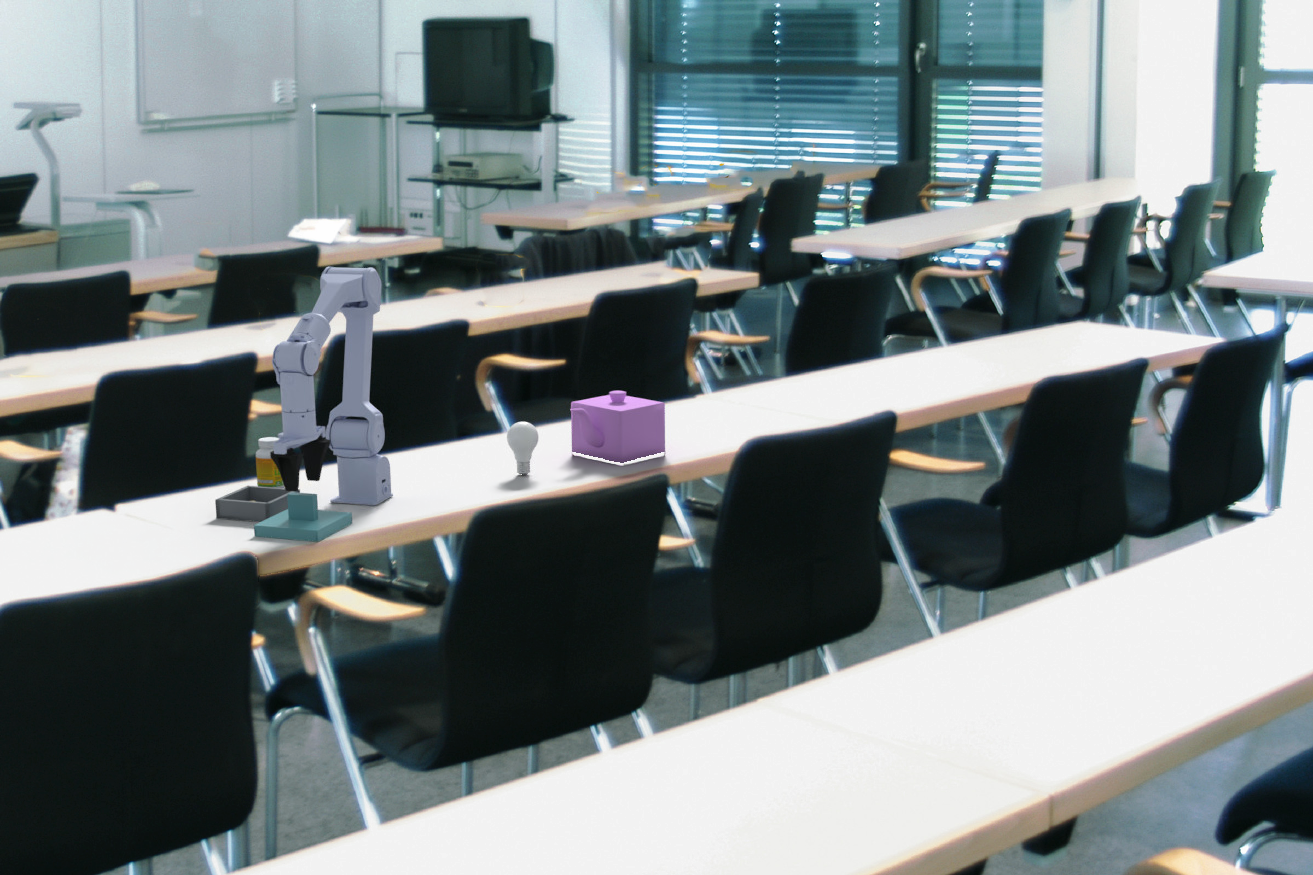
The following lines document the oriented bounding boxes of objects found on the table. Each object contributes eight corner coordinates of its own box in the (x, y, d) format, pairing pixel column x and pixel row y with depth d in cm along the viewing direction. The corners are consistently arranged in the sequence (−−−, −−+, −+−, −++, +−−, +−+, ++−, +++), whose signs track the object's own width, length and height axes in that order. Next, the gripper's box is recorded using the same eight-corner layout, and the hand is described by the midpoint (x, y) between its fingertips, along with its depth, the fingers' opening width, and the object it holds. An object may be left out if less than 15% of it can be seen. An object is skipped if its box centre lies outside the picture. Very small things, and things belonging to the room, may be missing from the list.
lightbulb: (502, 477, 315) (500, 423, 312) (516, 470, 320) (515, 417, 318) (530, 479, 312) (529, 426, 310) (544, 472, 318) (543, 419, 316)
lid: (352, 523, 281) (350, 488, 279) (318, 541, 269) (316, 505, 268) (290, 518, 284) (289, 483, 283) (254, 536, 273) (252, 500, 271)
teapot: (546, 461, 329) (545, 395, 326) (631, 442, 346) (630, 380, 343) (596, 472, 318) (595, 405, 315) (680, 452, 336) (680, 388, 333)
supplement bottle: (278, 491, 304) (275, 442, 302) (252, 490, 305) (249, 441, 303) (290, 484, 309) (287, 436, 307) (264, 483, 311) (262, 435, 308)
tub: (300, 507, 292) (299, 489, 291) (269, 522, 282) (268, 503, 281) (248, 503, 295) (247, 485, 294) (216, 518, 285) (215, 499, 284)
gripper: (299, 400, 280) (303, 474, 283) (256, 416, 267) (260, 493, 270) (334, 402, 278) (338, 476, 281) (292, 419, 265) (297, 496, 267)
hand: (302, 485), depth 275 cm, fingers open, 7 cm apart
